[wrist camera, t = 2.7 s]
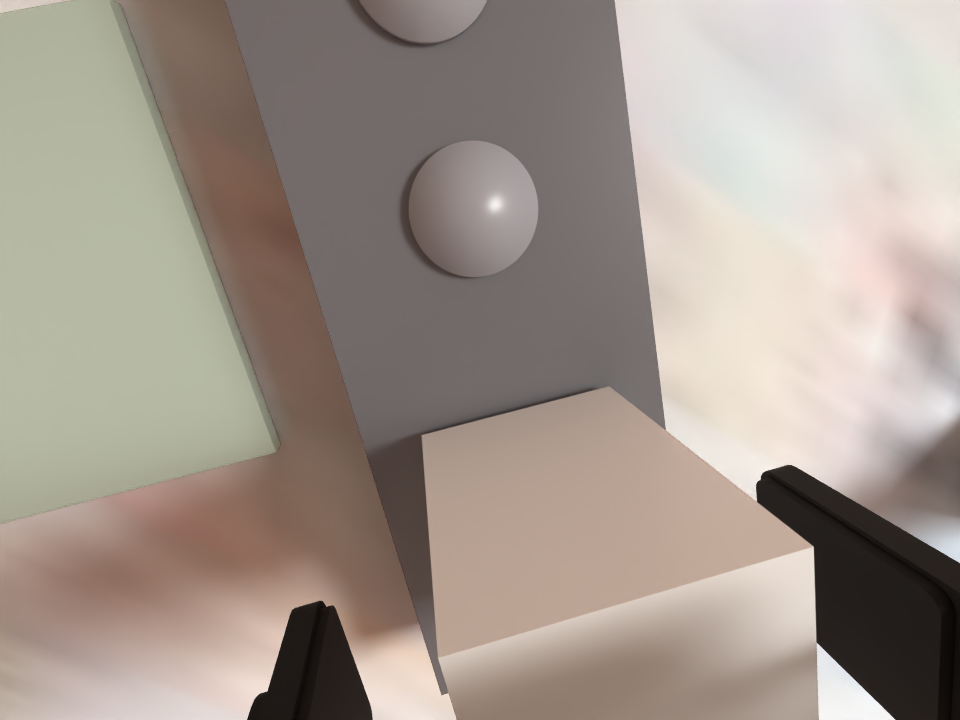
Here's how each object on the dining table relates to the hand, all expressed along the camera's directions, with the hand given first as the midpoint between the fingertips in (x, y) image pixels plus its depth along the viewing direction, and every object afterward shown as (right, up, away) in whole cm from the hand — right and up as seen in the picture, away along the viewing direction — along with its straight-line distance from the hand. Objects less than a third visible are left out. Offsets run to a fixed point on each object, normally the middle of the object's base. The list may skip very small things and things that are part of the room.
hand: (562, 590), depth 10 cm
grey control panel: (-2, +8, +4) cm, 9 cm away
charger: (-1, +2, +6) cm, 7 cm away
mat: (-14, +7, +3) cm, 16 cm away
